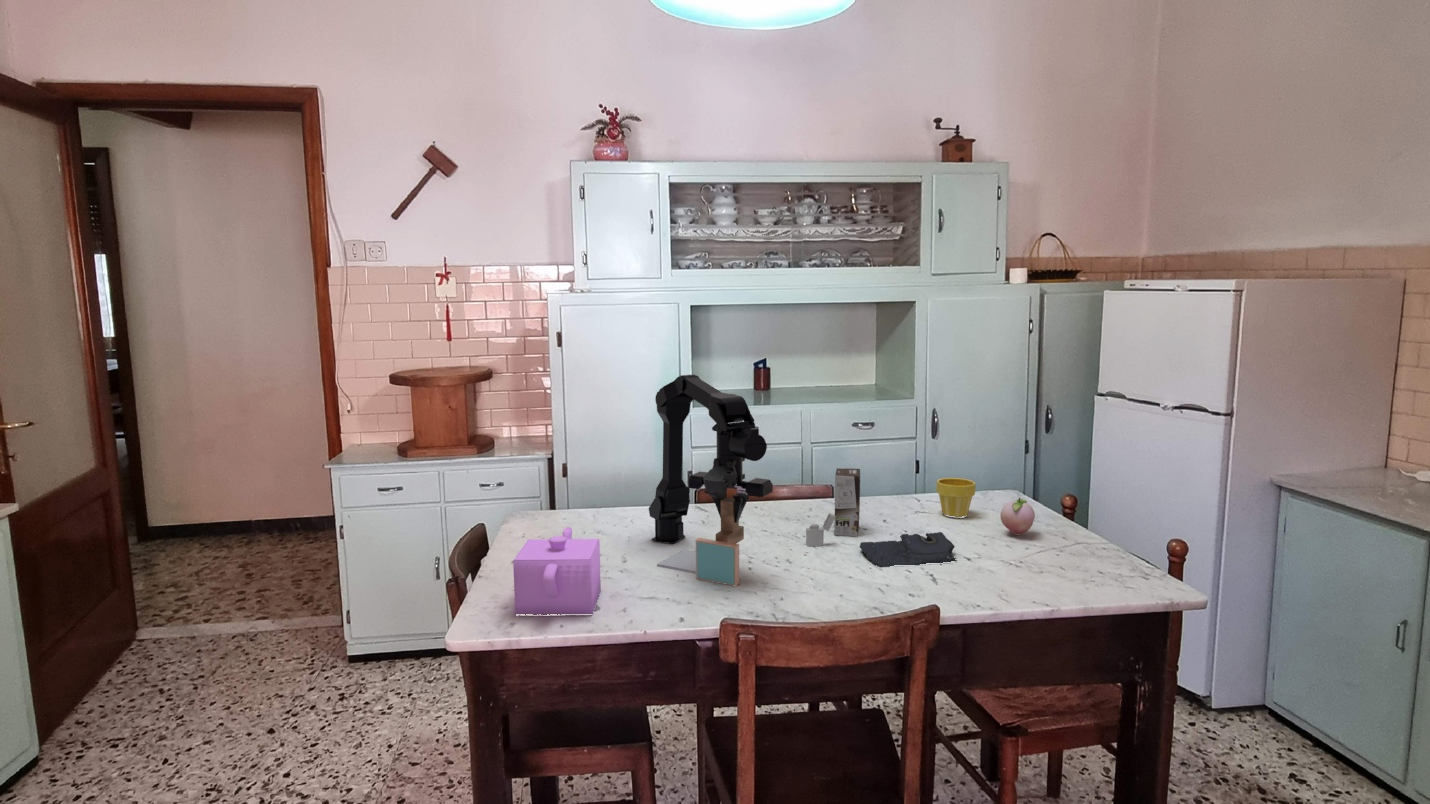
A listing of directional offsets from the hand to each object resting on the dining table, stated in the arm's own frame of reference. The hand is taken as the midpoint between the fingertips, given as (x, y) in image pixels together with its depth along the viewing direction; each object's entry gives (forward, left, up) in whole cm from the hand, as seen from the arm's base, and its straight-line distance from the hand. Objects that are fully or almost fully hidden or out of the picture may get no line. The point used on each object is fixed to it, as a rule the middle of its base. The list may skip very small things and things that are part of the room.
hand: (729, 521), depth 180 cm
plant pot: (+35, +70, -12) cm, 79 cm away
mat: (-11, +2, -12) cm, 16 cm away
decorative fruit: (+53, +59, -12) cm, 80 cm away
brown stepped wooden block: (0, 0, -5) cm, 5 cm away
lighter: (+11, +28, -12) cm, 33 cm away
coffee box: (+13, +42, -12) cm, 46 cm away
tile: (0, -6, -12) cm, 13 cm away
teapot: (-23, -31, -12) cm, 41 cm away
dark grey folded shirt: (+32, +31, -13) cm, 46 cm away
